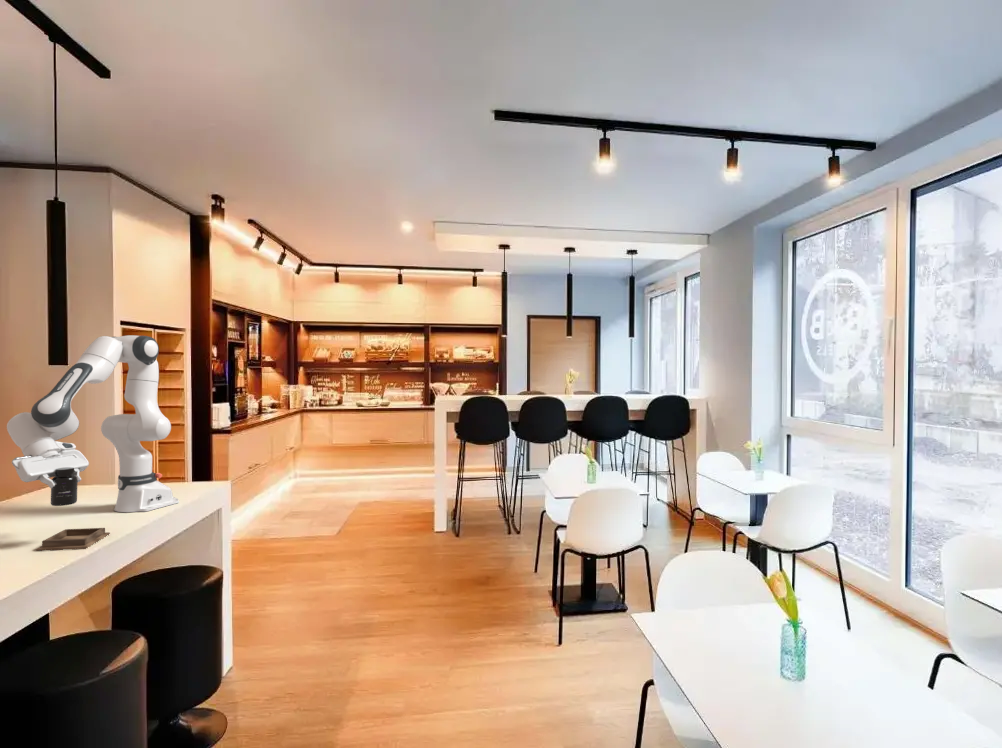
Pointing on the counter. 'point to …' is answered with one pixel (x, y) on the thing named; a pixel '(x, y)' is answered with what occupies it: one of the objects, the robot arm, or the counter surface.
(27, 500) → the counter surface
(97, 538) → the walnut tray
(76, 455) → the robot arm
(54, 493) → the supplement bottle
